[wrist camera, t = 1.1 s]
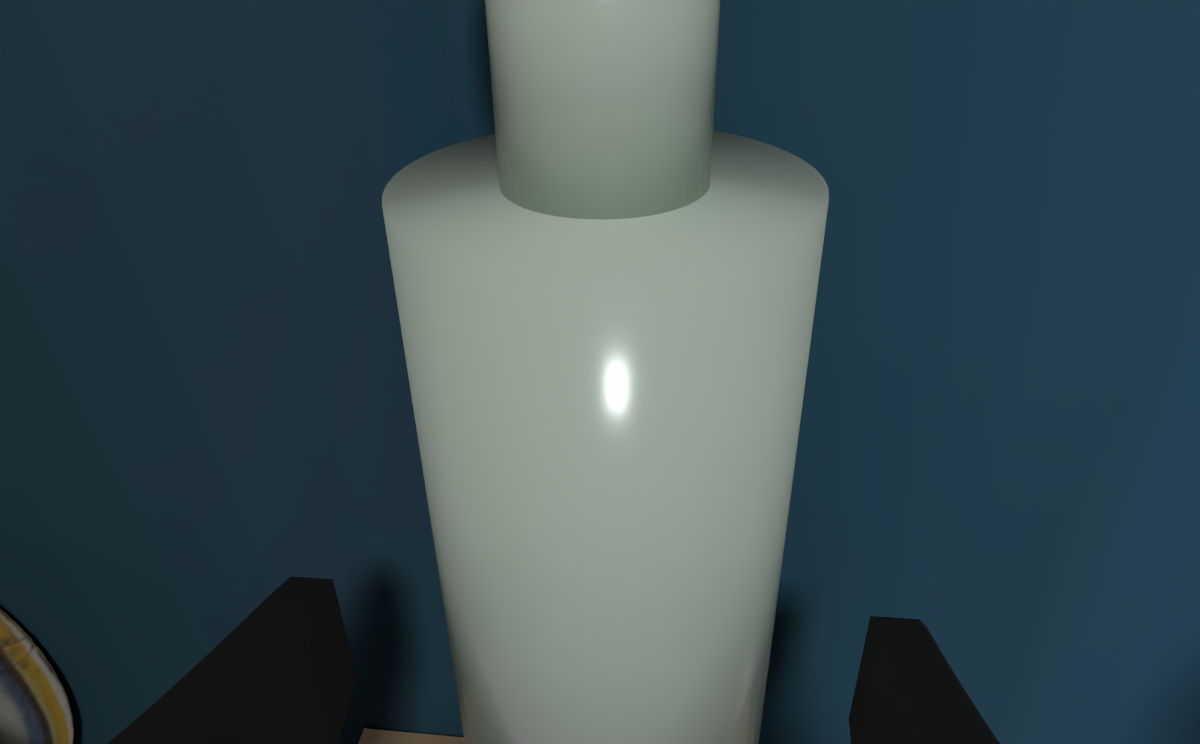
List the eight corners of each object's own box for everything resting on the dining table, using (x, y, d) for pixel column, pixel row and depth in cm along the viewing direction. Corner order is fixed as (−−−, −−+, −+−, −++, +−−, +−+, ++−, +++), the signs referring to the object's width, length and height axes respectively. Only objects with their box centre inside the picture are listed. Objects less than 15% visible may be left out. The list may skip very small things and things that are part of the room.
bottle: (745, 704, 18) (749, 970, 14) (511, 680, 18) (445, 928, 14) (846, -191, 10) (933, -223, 6) (422, -181, 10) (207, -204, 6)
